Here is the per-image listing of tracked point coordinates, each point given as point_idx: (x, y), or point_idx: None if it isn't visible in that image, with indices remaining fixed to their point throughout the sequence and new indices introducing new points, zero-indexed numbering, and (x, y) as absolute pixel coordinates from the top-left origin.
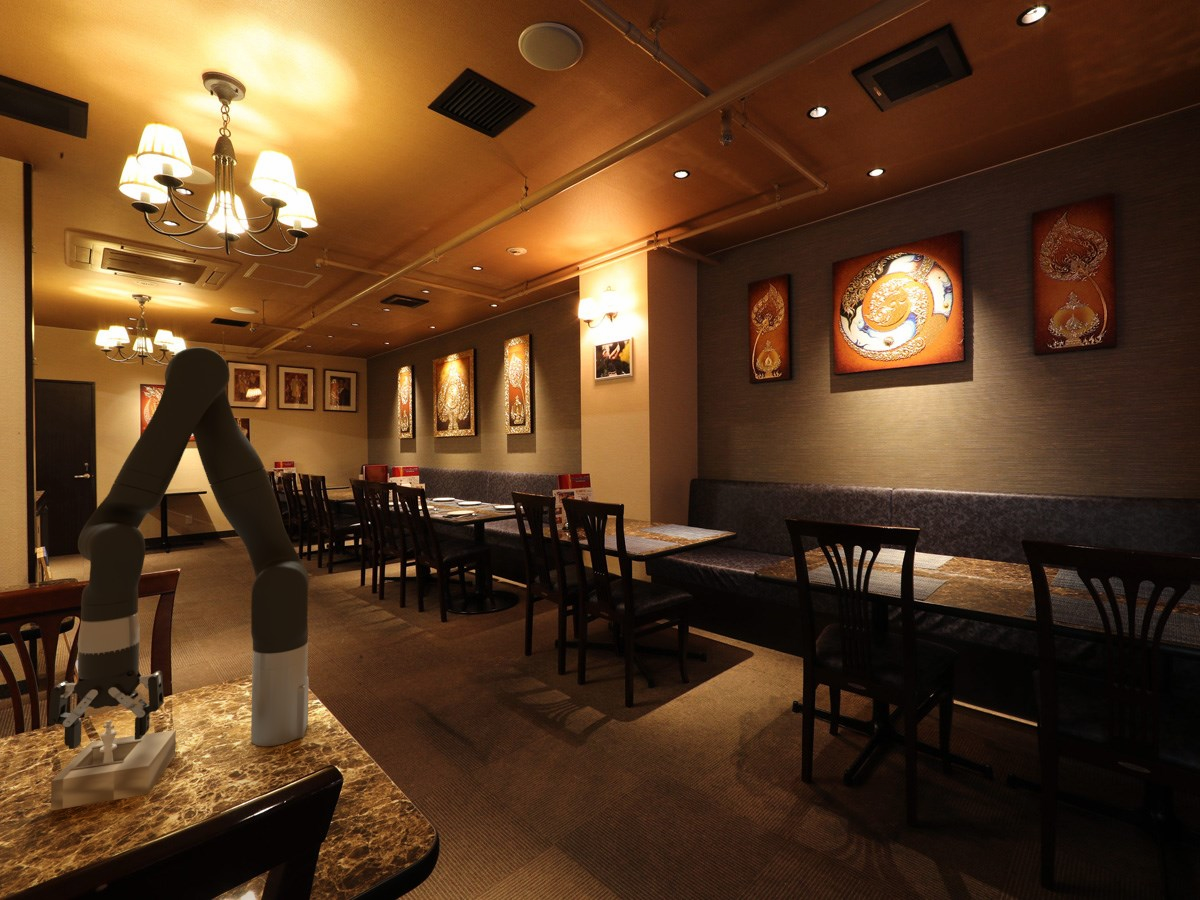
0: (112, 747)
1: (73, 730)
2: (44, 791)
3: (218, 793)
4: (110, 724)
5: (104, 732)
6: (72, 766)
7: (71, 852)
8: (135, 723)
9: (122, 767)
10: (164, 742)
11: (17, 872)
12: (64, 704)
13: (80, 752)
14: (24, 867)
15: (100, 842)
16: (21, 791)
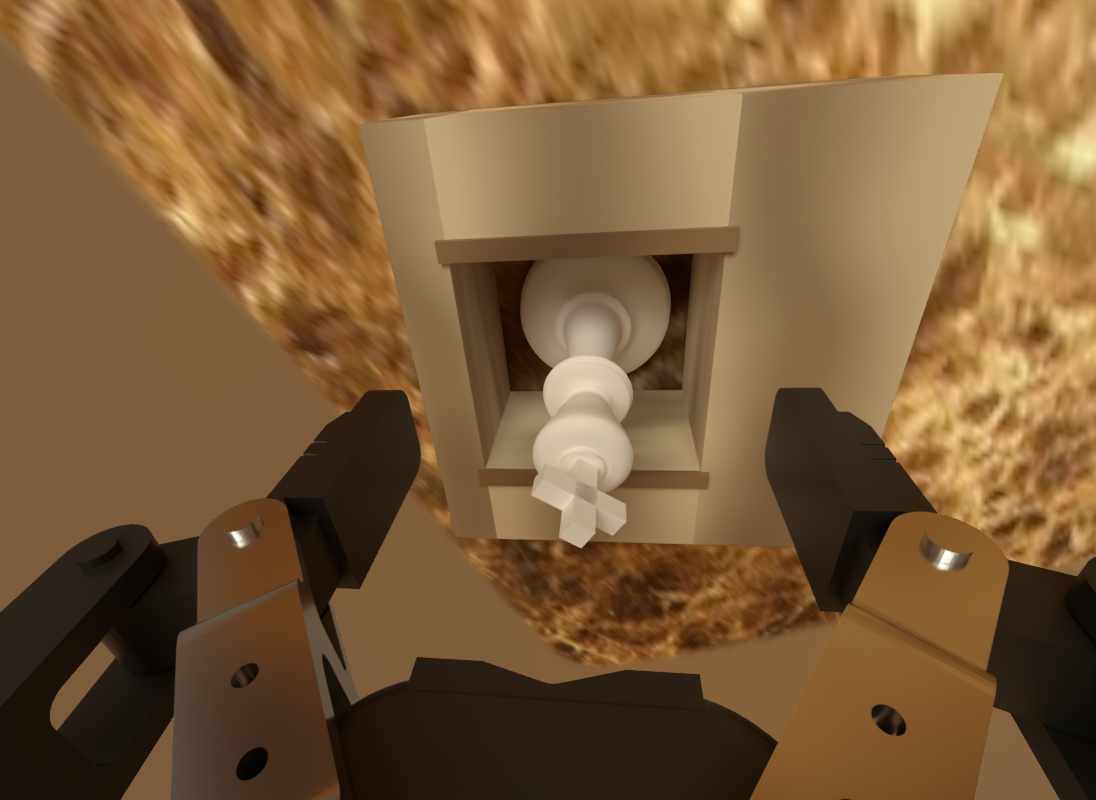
0: (619, 421)
1: (368, 563)
2: (358, 305)
3: (1062, 527)
4: (593, 515)
5: (550, 458)
6: (466, 449)
7: (659, 639)
8: (808, 569)
9: (720, 525)
10: (909, 311)
11: (571, 658)
12: (43, 704)
13: (398, 291)
14: (577, 650)
15: (716, 629)
16: (256, 275)
